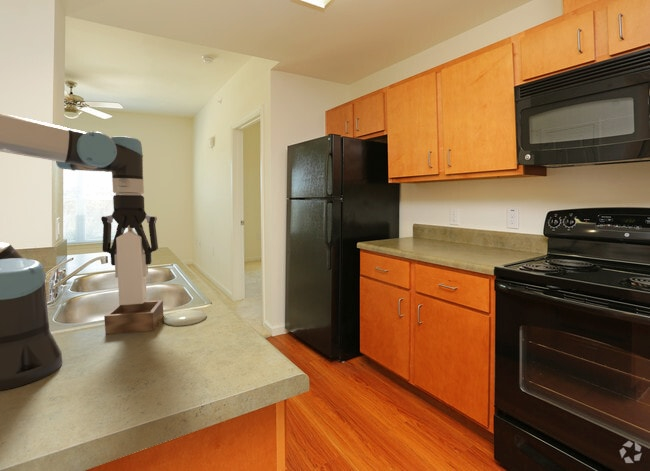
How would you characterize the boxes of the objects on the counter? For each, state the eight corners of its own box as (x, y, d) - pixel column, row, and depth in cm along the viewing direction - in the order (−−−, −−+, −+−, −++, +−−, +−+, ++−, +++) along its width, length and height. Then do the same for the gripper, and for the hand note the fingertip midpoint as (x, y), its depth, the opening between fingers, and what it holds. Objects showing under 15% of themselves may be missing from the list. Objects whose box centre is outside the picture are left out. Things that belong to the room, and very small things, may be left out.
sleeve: (105, 333, 94) (104, 316, 93) (120, 318, 105) (119, 302, 105) (153, 330, 96) (152, 312, 96) (163, 315, 108) (162, 300, 107)
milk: (119, 305, 96) (114, 226, 94) (124, 299, 102) (120, 224, 99) (143, 303, 98) (139, 225, 96) (147, 297, 104) (143, 224, 101)
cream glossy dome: (159, 327, 98) (159, 325, 98) (168, 313, 110) (168, 311, 110) (203, 324, 101) (203, 322, 101) (208, 310, 113) (208, 309, 113)
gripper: (83, 193, 91) (88, 280, 93) (162, 195, 95) (165, 277, 97) (95, 194, 98) (99, 274, 100) (168, 195, 102) (171, 272, 105)
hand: (132, 276), depth 99 cm, fingers closed on milk, 6 cm apart
